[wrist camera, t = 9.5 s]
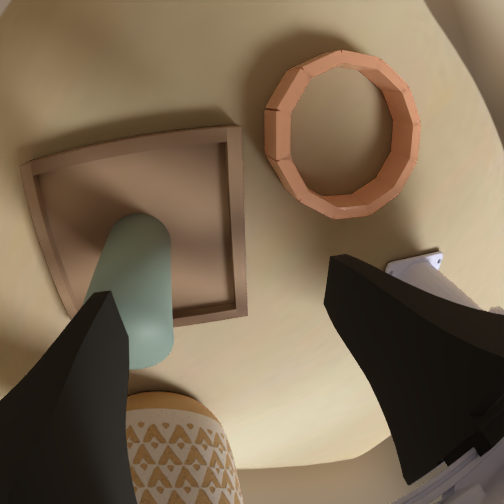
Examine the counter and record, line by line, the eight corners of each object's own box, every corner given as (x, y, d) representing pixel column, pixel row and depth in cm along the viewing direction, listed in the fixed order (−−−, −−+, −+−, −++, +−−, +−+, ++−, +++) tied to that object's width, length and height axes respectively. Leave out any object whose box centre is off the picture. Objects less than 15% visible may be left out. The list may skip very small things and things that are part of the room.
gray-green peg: (175, 266, 18) (182, 364, 12) (117, 274, 18) (97, 372, 11) (165, 208, 16) (162, 292, 10) (102, 218, 16) (61, 304, 9)
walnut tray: (243, 302, 22) (247, 315, 21) (83, 324, 20) (79, 337, 18) (236, 124, 16) (241, 126, 15) (30, 160, 13) (19, 166, 12)
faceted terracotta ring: (391, 201, 21) (409, 211, 19) (264, 212, 19) (275, 226, 17) (402, 70, 16) (422, 70, 14) (263, 47, 14) (275, 41, 12)
